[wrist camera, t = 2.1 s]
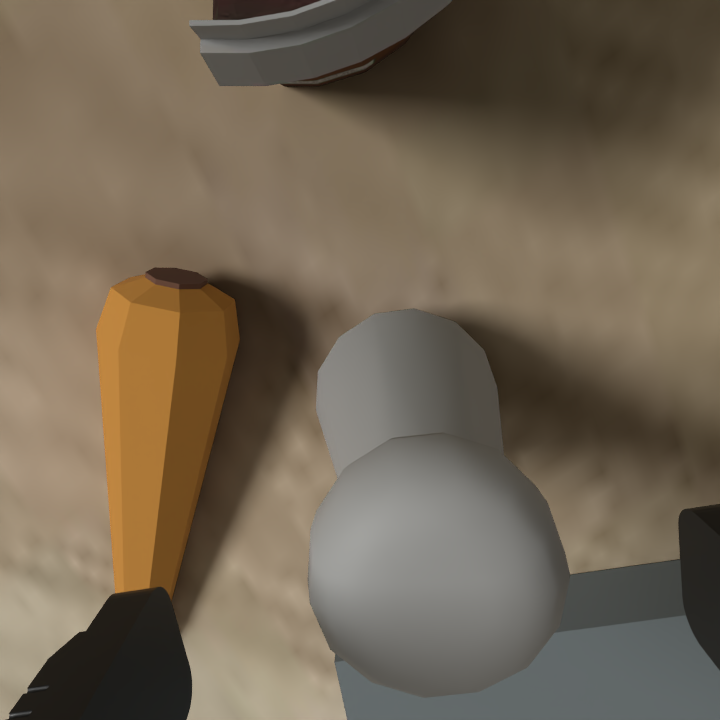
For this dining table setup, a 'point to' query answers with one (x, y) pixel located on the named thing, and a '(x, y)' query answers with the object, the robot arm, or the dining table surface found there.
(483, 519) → the salt shaker
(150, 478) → the carrot
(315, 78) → the food container
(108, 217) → the dining table surface
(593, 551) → the dining table surface
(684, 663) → the base plinth
